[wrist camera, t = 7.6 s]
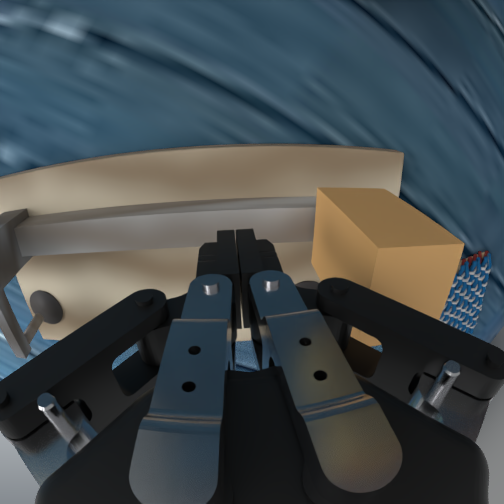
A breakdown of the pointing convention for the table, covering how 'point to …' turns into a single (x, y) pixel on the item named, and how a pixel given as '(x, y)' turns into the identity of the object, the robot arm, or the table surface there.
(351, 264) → the block
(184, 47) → the table surface
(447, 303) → the woven mat
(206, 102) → the table surface
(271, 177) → the board
